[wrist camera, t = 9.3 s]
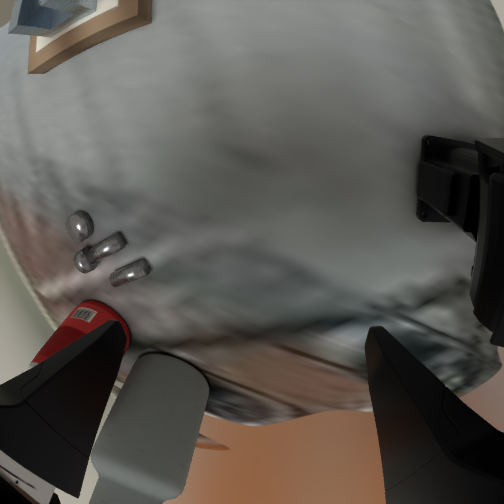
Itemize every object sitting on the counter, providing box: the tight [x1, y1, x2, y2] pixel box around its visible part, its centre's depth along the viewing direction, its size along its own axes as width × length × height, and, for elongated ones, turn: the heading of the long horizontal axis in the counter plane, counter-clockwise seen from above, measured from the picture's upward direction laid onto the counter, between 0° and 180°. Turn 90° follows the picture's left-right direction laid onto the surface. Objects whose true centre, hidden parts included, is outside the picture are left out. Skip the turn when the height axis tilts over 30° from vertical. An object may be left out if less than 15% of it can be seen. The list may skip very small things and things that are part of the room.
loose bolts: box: [66, 211, 150, 287], centre depth 21 cm, size 6×8×2 cm
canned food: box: [28, 301, 130, 370], centre depth 22 cm, size 8×8×11 cm
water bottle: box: [89, 354, 209, 504], centre depth 18 cm, size 10×10×28 cm
